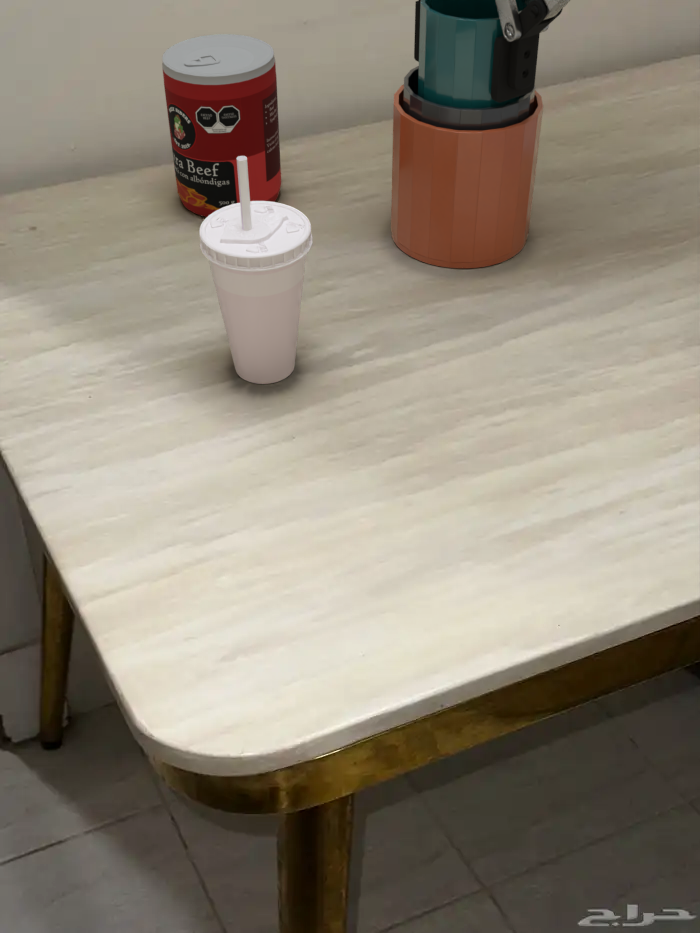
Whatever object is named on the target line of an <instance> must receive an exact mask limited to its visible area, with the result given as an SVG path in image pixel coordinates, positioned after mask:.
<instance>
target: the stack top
mask: <svg viewBox="0 0 700 933" xmlns="http://www.w3.org/2000/svg"><path fill="white" fill-rule="evenodd" d="M418 74H419V65H417V66H415V67H413V68H411V69H410V70H409V71H408V72H407V73H406V75H405V76H404V77H403V84H404V98H403V110H404V112H405V113H406V114H408V115H410V116H411V117H413V118H415V119H416V120H418V121H420V122H423V123H426V124H429V125H433V126H436V127H441V128H447V129H453V130H470V131H483V130H491V129H499V128H505V127H508V126H511V125H514V124H517V123H520V122H522V121H524V120H525V119H527V118H528V117H530V116H532V113H533V104H534V94H535V90H536V85H534V89H533V90H532V92H530V93H528V94H525V95H524V96H523V97H522V98H520V99H519V100H517V101H515V102H512V103H509V104H505V105H502V106H497V107H489V108H456V107H450V106H443V105H439V104H436V103H433V102H430V101H427V100H425V99H423V98H421V97H419V96H418Z"/></svg>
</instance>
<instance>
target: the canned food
mask: <svg viewBox="0 0 700 933" xmlns="http://www.w3.org/2000/svg"><path fill="white" fill-rule="evenodd" d="M161 61H162V64H161V67H162V76H163V86H164V94H165V95H164V96H165V102H166V103H165V104H166V112H167V118H168V127H169V136H170V142H171V144H170V145H171V152H172V159H173V160H172V161H173V168H174V174H175V175H174V176H175V184H176V191H177V194H178V196H179V199H180V201H181V203H182V204H183V206H184V208H186V209H187V210H189V211H190V212H192V213H194V214H195V215H199V216H202V217H205V218H207V217H208V216H209V215H210V214H212V213H213V212H215V211H216V210H218V209H221V208H223V207H225V206H228V205H231V204H236V203H240V195H239V182H238V170H237V157H239V156H246V157H247V165H248V179H249V193H250V201H271V202H277V199H278V197H279V195H280V191H281V186H282V168H281V149H280V148H281V146H280V125H279V103H278V102H279V101H278V83H277V82H278V81H277V80H278V79H277V67H276V66H277V65H276V58H275V52H274V48H273V47H272V46H271V44H269V43H267V41H264V40H261V39H260V38H256V37H252V36H249V35H242V34H231V33H219V34H217V33H216V34H207V35H200V36H195V37H191V38H188V39H185V40H182V41H179V42H178V43H175V44H173V45H172V46H169V47H168V48H167V49H166V50H165V51H164V52H163V55H162V56H161Z"/></svg>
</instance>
